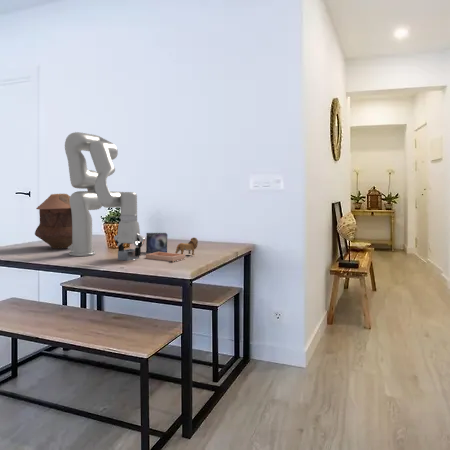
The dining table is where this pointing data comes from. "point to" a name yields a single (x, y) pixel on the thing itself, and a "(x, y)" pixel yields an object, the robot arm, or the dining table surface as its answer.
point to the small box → (156, 242)
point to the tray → (165, 256)
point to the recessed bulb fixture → (127, 255)
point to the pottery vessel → (55, 221)
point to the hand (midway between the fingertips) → (129, 255)
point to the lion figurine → (187, 246)
